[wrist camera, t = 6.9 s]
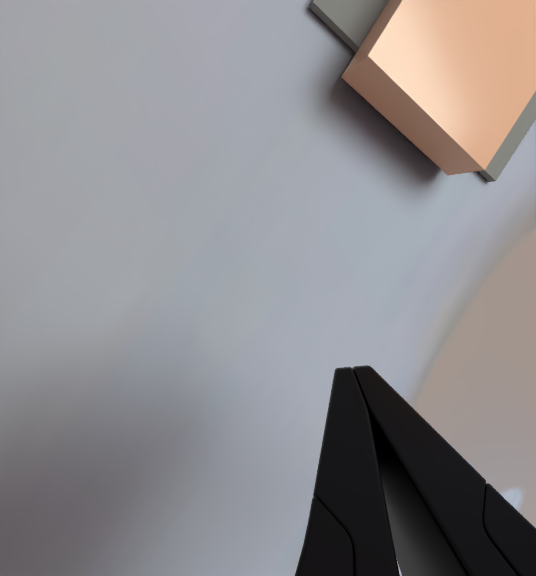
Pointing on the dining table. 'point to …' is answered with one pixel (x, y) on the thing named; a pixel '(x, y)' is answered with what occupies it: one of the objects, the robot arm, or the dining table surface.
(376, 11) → the mat
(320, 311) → the dining table surface
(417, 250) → the dining table surface
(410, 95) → the tile
